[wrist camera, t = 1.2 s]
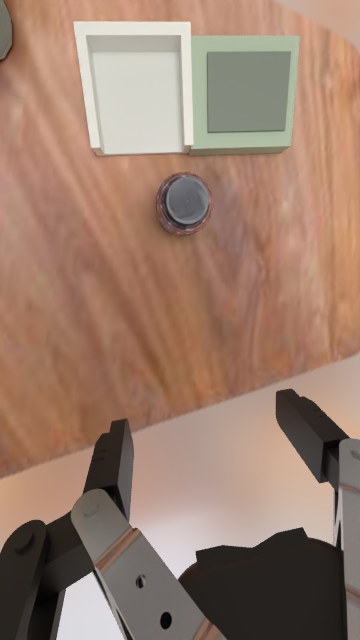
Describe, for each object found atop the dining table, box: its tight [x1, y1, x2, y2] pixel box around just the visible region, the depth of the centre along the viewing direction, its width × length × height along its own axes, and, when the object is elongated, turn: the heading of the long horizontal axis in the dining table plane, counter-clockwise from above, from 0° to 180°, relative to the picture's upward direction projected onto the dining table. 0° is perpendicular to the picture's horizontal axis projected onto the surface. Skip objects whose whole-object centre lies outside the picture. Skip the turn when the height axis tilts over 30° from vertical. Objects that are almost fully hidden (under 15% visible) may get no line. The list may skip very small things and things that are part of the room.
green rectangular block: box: [188, 36, 300, 156], centre depth 28 cm, size 12×10×3 cm
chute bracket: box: [74, 22, 194, 156], centre depth 27 cm, size 12×10×3 cm
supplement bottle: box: [156, 172, 213, 235], centre depth 28 cm, size 6×6×11 cm
